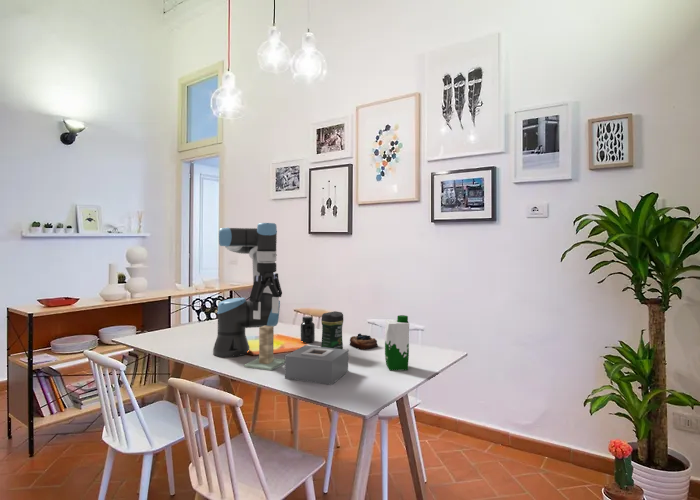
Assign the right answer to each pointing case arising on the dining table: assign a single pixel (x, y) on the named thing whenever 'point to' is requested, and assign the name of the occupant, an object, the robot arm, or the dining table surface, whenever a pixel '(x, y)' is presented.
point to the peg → (266, 344)
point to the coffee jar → (332, 330)
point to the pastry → (363, 342)
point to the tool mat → (269, 366)
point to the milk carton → (397, 343)
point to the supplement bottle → (308, 330)
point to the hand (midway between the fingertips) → (266, 316)
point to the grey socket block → (316, 364)
